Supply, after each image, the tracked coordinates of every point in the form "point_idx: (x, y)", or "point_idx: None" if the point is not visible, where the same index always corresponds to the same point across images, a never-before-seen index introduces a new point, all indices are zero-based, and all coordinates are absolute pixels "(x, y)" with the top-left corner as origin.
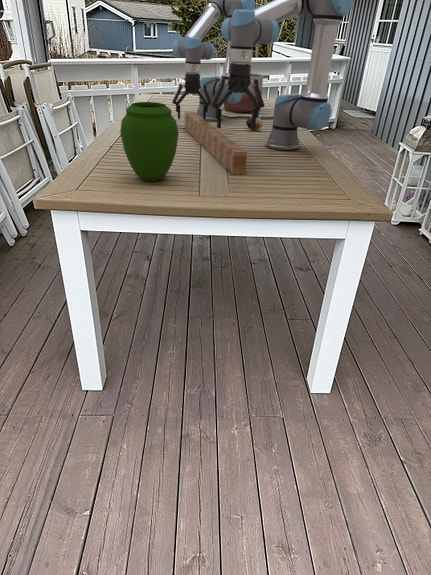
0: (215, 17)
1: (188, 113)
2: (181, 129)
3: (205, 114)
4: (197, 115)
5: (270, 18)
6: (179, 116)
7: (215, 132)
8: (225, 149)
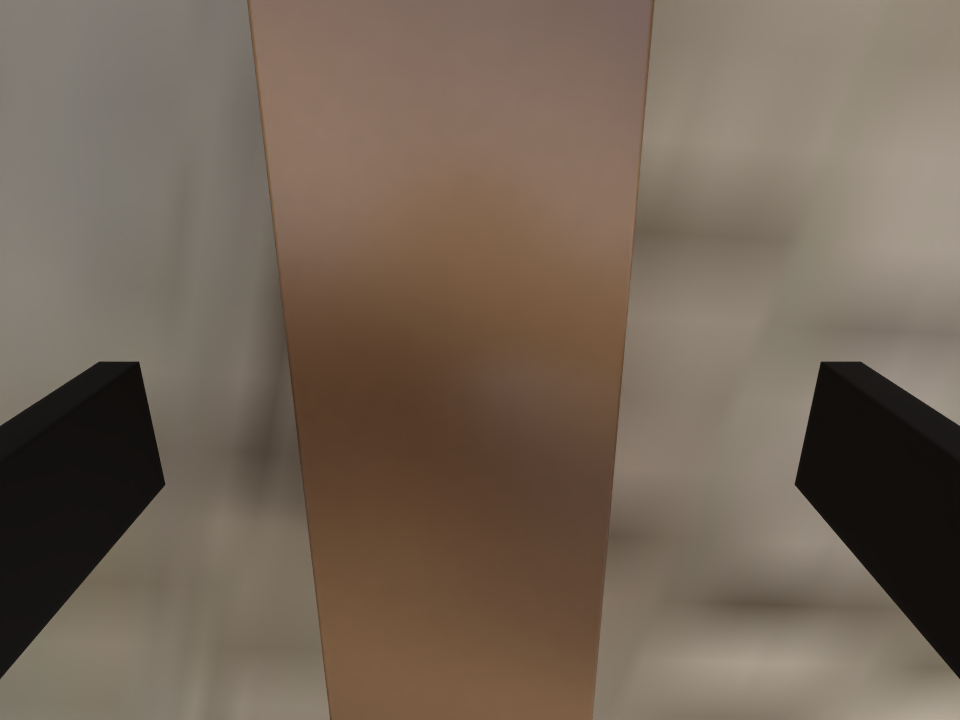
0: None
1: (536, 632)
2: None
3: (16, 421)
4: (320, 322)
5: None
6: (882, 392)
7: None
8: None
